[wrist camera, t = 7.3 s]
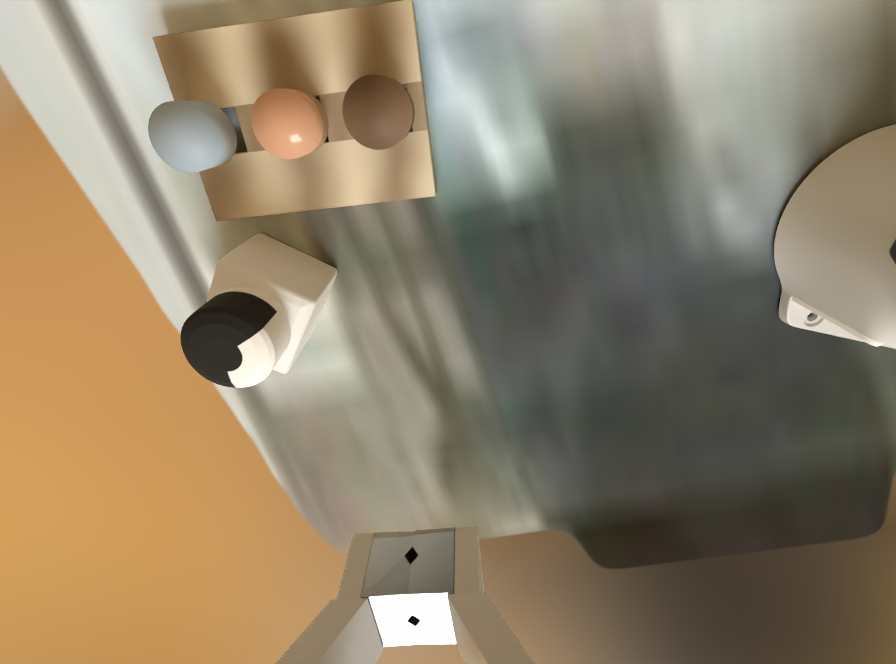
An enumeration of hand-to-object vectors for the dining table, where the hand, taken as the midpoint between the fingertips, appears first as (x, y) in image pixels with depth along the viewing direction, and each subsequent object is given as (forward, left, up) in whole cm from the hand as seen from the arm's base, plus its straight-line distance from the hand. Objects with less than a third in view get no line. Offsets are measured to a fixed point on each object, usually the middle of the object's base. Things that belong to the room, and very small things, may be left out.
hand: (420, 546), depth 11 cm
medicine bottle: (+11, +10, -29) cm, 33 cm away
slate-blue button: (+18, -1, -27) cm, 32 cm away
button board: (+12, -3, -29) cm, 32 cm away
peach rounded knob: (+12, -3, -28) cm, 31 cm away
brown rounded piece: (+7, -6, -27) cm, 29 cm away
